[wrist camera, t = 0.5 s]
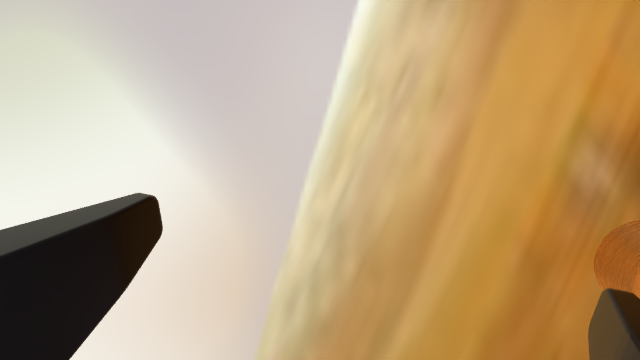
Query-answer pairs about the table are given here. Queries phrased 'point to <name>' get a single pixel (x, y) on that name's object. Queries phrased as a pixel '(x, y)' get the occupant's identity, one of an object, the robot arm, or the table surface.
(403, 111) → the table surface
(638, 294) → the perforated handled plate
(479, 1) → the table surface
